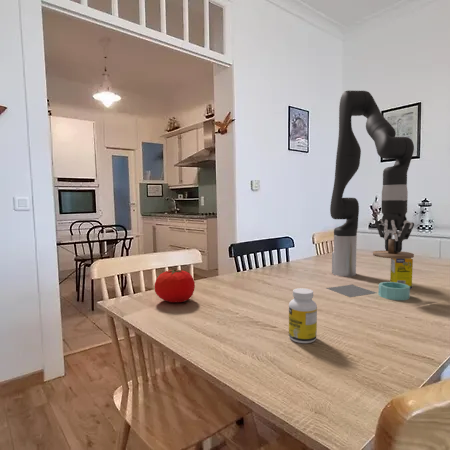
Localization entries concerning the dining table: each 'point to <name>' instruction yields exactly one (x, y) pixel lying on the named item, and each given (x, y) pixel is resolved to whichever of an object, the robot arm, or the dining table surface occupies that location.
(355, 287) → the mat
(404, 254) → the lid
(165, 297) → the tomato
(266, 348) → the dining table surface
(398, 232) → the robot arm
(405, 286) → the bowl
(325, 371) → the dining table surface
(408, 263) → the supplement box
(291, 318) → the pill bottle
